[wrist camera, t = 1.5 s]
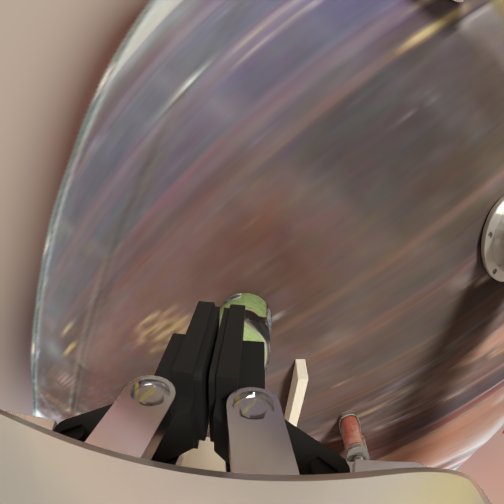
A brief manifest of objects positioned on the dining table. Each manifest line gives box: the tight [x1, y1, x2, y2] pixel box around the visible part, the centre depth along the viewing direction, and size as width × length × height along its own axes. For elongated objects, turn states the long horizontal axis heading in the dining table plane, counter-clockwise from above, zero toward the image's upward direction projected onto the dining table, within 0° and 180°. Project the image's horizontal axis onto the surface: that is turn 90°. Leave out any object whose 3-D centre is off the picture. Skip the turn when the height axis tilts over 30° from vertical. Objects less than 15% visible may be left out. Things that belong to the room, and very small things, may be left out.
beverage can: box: [219, 293, 272, 370], centre depth 30 cm, size 6×7×12 cm
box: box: [181, 359, 308, 472], centre depth 38 cm, size 16×20×8 cm
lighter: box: [339, 411, 369, 462], centre depth 38 cm, size 8×3×10 cm, turn 18°
